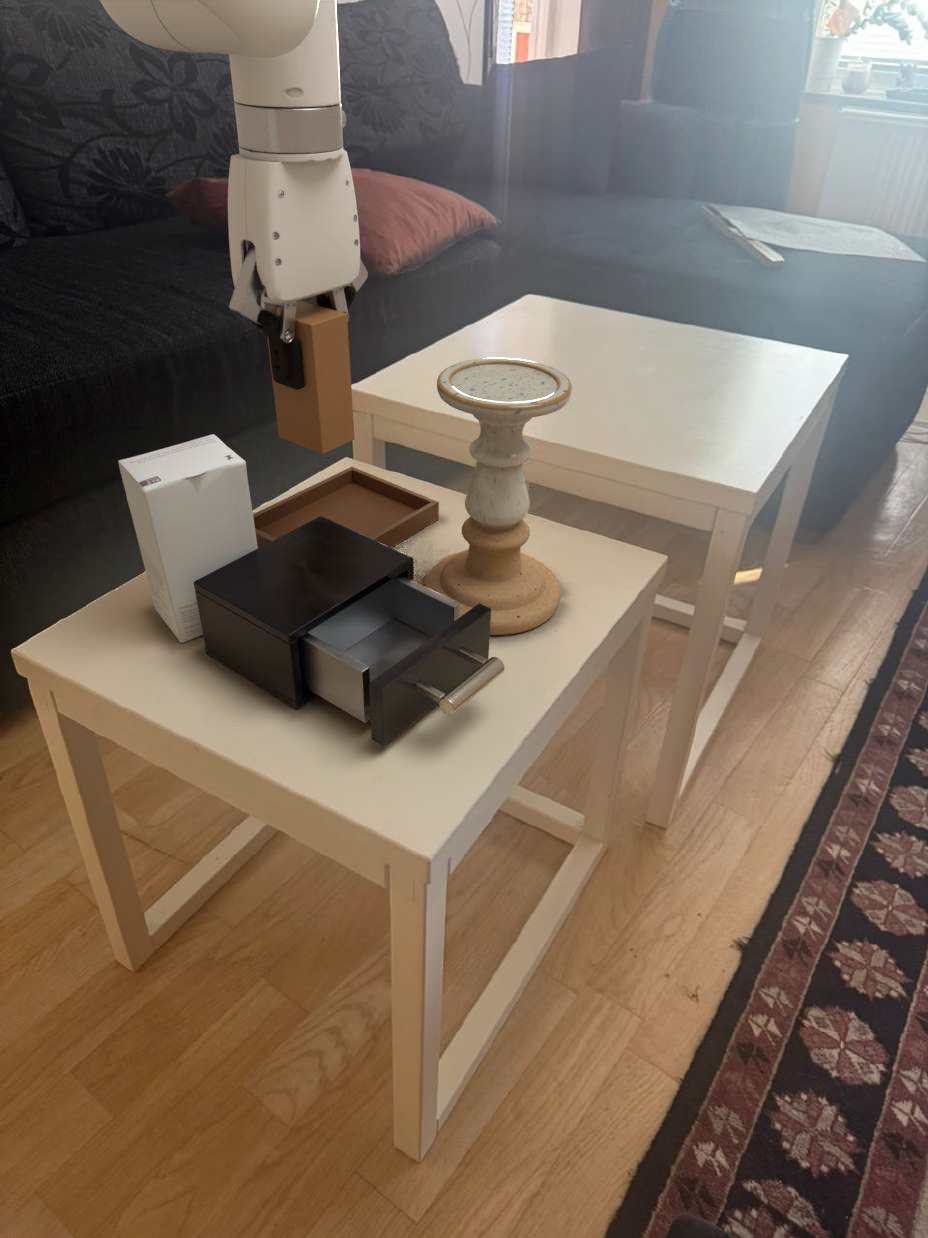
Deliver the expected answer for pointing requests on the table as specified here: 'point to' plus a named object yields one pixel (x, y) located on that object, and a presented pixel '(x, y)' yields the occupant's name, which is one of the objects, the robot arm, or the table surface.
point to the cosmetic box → (188, 521)
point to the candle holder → (500, 492)
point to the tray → (351, 509)
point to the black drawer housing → (289, 600)
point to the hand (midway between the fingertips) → (309, 374)
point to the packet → (318, 383)
